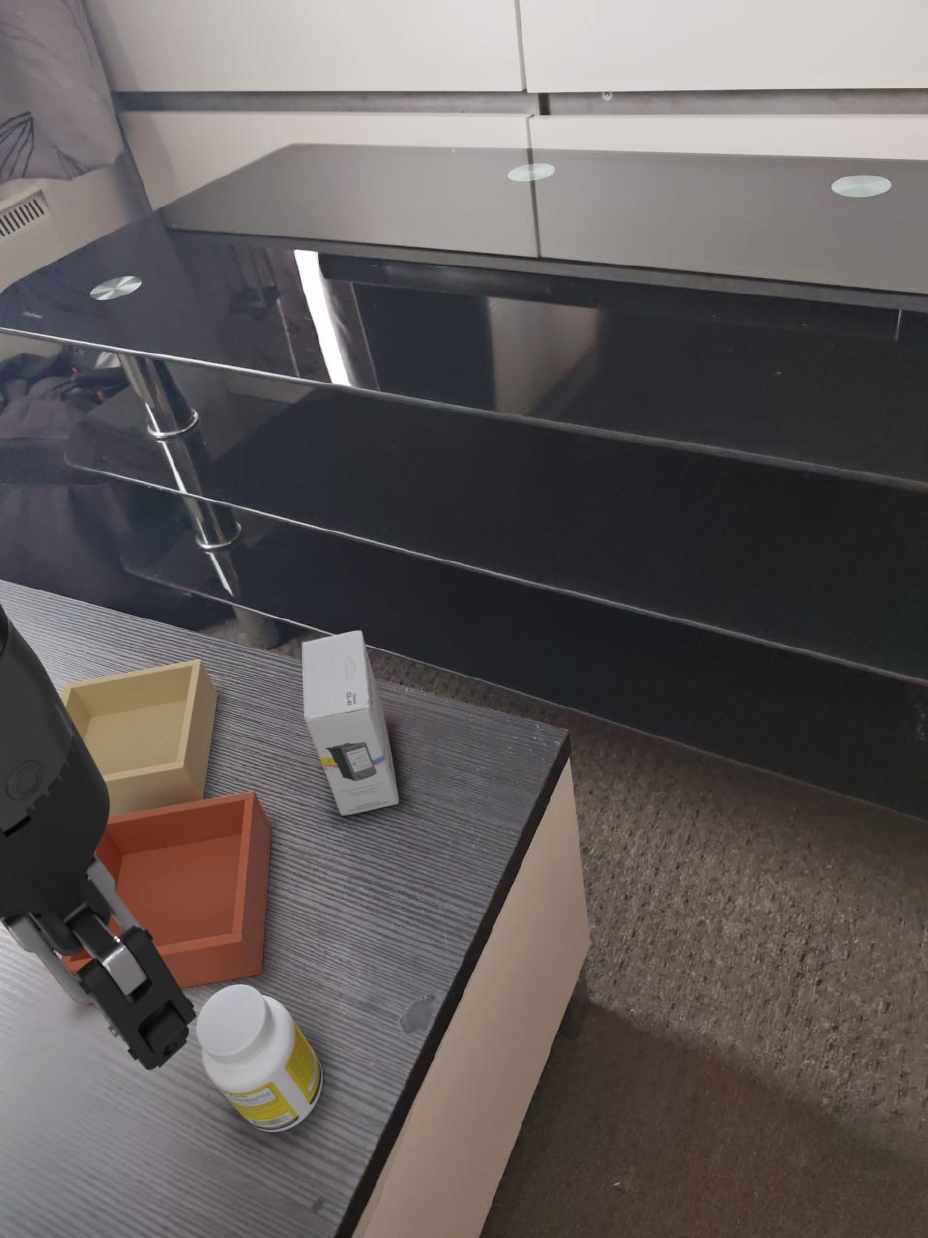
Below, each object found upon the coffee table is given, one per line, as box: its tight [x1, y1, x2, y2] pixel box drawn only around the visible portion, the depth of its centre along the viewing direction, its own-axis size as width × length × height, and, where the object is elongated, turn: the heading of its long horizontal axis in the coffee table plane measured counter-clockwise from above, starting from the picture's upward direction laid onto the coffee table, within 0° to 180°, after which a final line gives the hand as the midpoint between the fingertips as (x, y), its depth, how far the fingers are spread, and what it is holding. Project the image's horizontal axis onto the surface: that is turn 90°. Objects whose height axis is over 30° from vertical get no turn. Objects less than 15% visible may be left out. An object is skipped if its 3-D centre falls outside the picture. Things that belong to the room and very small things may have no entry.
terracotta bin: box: [60, 790, 273, 1005], centre depth 66 cm, size 12×12×5 cm
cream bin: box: [60, 658, 219, 817], centre depth 78 cm, size 12×12×5 cm
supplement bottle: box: [195, 984, 324, 1133], centre depth 54 cm, size 5×5×10 cm
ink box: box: [301, 630, 400, 817], centre depth 71 cm, size 9×5×12 cm, turn 9°
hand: (114, 989), depth 42 cm, fingers open, 8 cm apart
